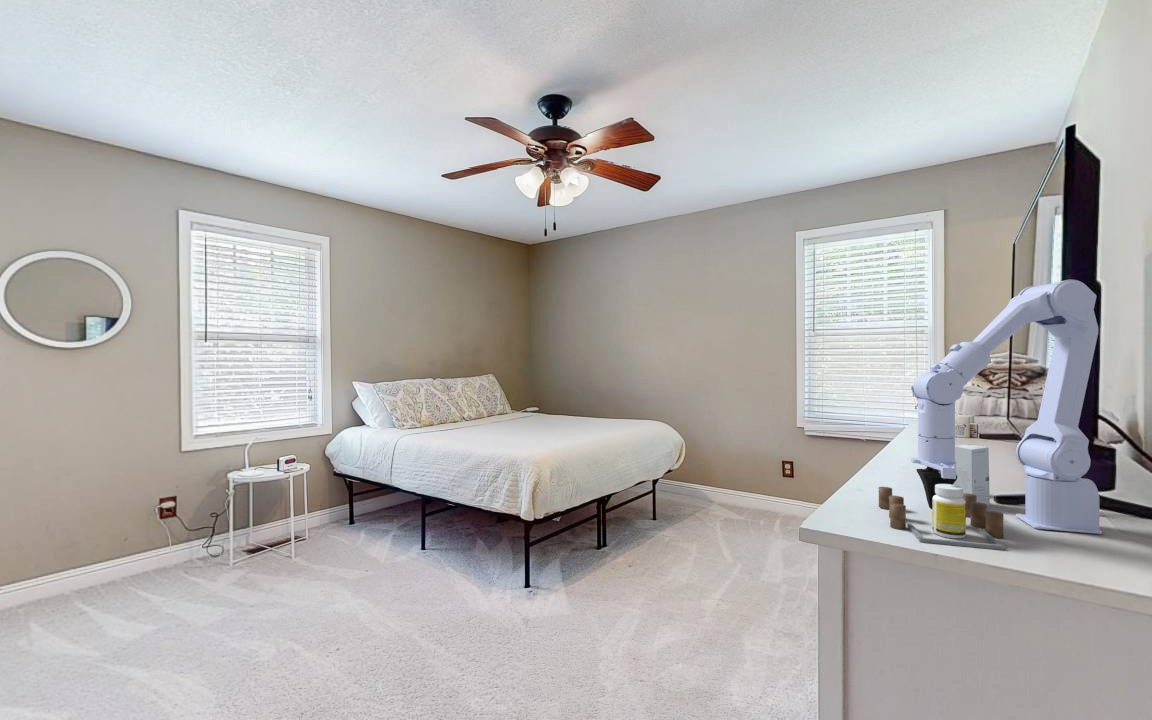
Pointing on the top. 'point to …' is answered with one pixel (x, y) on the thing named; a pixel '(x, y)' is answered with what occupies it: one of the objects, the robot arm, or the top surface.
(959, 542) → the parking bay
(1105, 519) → the top surface
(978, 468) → the skincare box
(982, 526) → the posts
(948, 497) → the supplement bottle
